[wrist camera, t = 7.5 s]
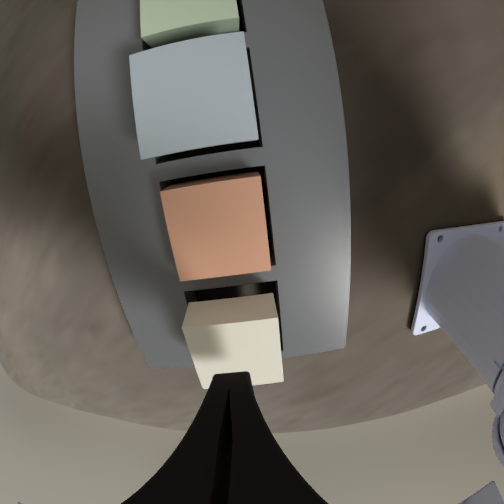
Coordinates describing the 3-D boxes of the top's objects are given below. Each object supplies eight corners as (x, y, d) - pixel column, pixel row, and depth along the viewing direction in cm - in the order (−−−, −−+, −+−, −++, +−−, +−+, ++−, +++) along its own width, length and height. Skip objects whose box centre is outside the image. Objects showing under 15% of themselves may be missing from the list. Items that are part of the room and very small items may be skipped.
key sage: (230, -15, 9) (229, -44, 6) (239, 41, 11) (239, 17, 8) (156, -1, 9) (140, -26, 6) (159, 56, 11) (140, 37, 8)
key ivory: (270, 282, 14) (278, 317, 11) (276, 343, 15) (283, 381, 13) (192, 292, 14) (181, 327, 11) (208, 350, 15) (203, 388, 13)
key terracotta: (256, 169, 13) (260, 175, 10) (265, 245, 15) (271, 270, 12) (176, 181, 13) (160, 191, 10) (190, 255, 15) (180, 281, 12)
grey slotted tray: (301, -27, 9) (309, -44, 7) (336, 328, 17) (345, 347, 15) (92, 12, 9) (77, 1, 7) (156, 347, 17) (148, 368, 15)
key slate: (242, 56, 10) (243, 31, 7) (254, 140, 11) (258, 139, 9) (153, 73, 10) (129, 55, 7) (163, 155, 11) (140, 159, 9)
